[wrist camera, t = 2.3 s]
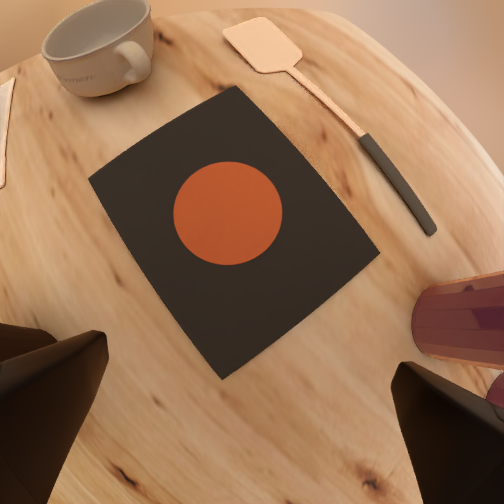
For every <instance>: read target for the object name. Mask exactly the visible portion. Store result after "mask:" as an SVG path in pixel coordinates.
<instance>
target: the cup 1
mask: <svg viewBox="0 0 504 504" xmlns="http://www.w3.org/2000/svg"><path fill="white" fill-rule="evenodd" d="M412 333H413V337H414V340H415V343H416V345H417V347H418V348H419V349H420V351H421V352H422V353H423V354H425V355H426V356H429V357H432V358H434V359H439V360H444V361H450V362H455V363H461V364H467V365H473V366H479V367H485V368H491V369H498V370H504V271H499V272H495V273H490V274H485V275H480V276H475V277H469V278H464V279H459V280H453V281H448V282H442V283H439V284H435V285H432V286H430V287H429V288H427V289H426V290H425V291H424V292H423V293H422V294H421V296H420V297H419V299H418V301H417V303H416V305H415V308H414V311H413V316H412Z"/></svg>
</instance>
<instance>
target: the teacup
mask: <svg viewBox="0 0 504 504" xmlns="http://www.w3.org/2000/svg"><path fill="white" fill-rule="evenodd" d="M150 11H151V7H150V4H149V2H148V1H147V0H98V1H95V2H93V3H91V4H88V5H86V6H84V7H82V8H79V9H77V10H75V11H74V12H73V13H71V14H69V15H68V16H66V17H65V18H64V19H62V20H61V21H60V22H59V23H58V24H56V25H55V26H54V28H53V29H52V30H51V31H50V32H49V33H48V35H47V36H46V38H45V40H44V42H43V44H42V49H41V51H42V55H43V57H44V58H45V59H46V60H47V61H48V63H49V65H50V67H51V68H52V70H53V72H54V73H55V75H56V77H57V78H58V80H59V81H60V83H61V84H62V85H63V86H64V88H65V89H67V90H68V91H69V92H71V93H72V94H75V95H78V96H82V97H96V96H101V95H107V94H110V93H113V92H116V91H118V90H120V89H122V88H124V87H125V86H127V85H128V84H134V83H138V82H141V81H143V80H145V79H146V78H147V77H148V76H149V75H150V74H151V70H152V67H151V62H150V60H151V58H152V55H153V51H154V37H153V29H152V22H151V16H150Z"/></svg>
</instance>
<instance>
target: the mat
mask: <svg viewBox="0 0 504 504" xmlns="http://www.w3.org/2000/svg"><path fill="white" fill-rule="evenodd" d="M88 180H89V181H90V183H91V185H92V187H93V189H94V191H95V193H96V194H97V196H98V198H99V200H100V202H101V203H102V205H103V207H104V209H105V210H106V212H107V214H108V216H109V217H110V219H111V221H112V223H113V224H114V226H115V228H116V229H117V231H118V233H119V234H120V236H121V238H122V239H123V241H124V243H125V244H126V246H127V247H128V249H129V251H130V252H131V254H132V255H133V257H134V259H135V260H136V262H137V263H138V265H139V266H140V268H141V270H142V271H143V273H144V274H145V276H146V277H147V279H148V280H149V282H150V283H151V285H152V286H153V288H154V289H155V291H156V292H157V294H158V295H159V297H160V298H161V299H162V301H163V302H164V304H165V305H166V307H167V308H168V310H169V311H170V312H171V314H172V315H173V317H174V318H175V319H176V321H177V322H178V324H179V325H180V326H181V328H182V329H183V330H184V332H185V333H186V334H187V336H188V337H189V339H190V340H191V341H192V343H193V344H194V345H195V346H196V348H197V349H198V350H199V352H200V353H201V354H202V356H203V357H204V358H205V359H206V361H207V362H208V363H209V365H210V366H211V367H212V368H213V370H214V371H215V372H216V373H217V375H218V376H219V377H220V378H221V380H223V379H224V378H226V377H227V376H229V375H230V374H231V373H233V372H234V371H236V370H237V369H238V368H240V367H241V366H243V365H244V364H245V363H247V362H248V361H249V360H251V359H252V358H254V357H255V356H256V355H258V354H259V353H260V352H262V351H263V350H264V349H266V348H267V347H268V346H270V345H271V344H272V343H274V342H275V341H276V340H277V339H279V338H280V337H281V336H283V335H284V334H285V333H287V332H288V331H289V330H290V329H292V328H293V327H294V326H295V325H297V324H298V323H299V322H300V321H302V320H303V319H304V318H305V317H307V316H308V315H309V314H310V313H312V312H313V311H314V310H315V309H316V308H318V307H319V306H320V305H321V304H323V303H324V302H325V301H326V300H327V299H328V298H330V297H331V296H332V295H333V294H334V293H336V292H337V291H338V290H339V289H340V288H341V287H343V286H344V285H345V284H346V283H347V282H348V281H350V280H351V279H352V278H353V277H354V276H355V275H356V274H358V273H359V272H360V271H361V270H362V269H363V268H364V267H365V266H367V265H368V264H369V263H370V262H371V261H372V260H373V259H374V258H375V257H376V256H378V255H379V254H380V252H379V250H378V249H377V248H376V246H375V245H374V243H373V242H372V241H371V239H370V238H369V237H368V235H367V234H366V233H365V231H364V230H363V229H362V227H361V226H360V225H359V223H358V222H357V221H356V220H355V218H354V217H353V216H352V214H351V213H350V212H349V211H348V209H347V208H346V207H345V205H344V204H343V203H342V202H341V200H340V199H339V198H338V197H337V196H336V194H335V193H334V192H333V191H332V189H331V188H330V187H329V186H328V185H327V183H326V182H325V181H324V180H323V179H322V177H321V176H320V175H319V174H318V173H317V171H316V170H315V169H314V168H313V167H312V166H311V164H310V163H309V162H308V161H307V160H306V159H305V158H304V156H303V155H302V154H301V153H300V152H299V151H298V150H297V148H296V147H295V146H294V145H293V144H292V143H291V142H290V141H289V140H288V139H287V137H286V136H285V135H284V134H283V133H282V132H281V131H280V130H279V129H278V128H277V127H276V126H275V124H274V123H273V122H272V121H271V120H270V119H269V118H268V117H267V116H266V115H265V114H264V113H263V112H262V111H261V110H260V109H259V108H258V107H257V106H256V105H255V104H254V103H253V102H252V101H251V100H250V99H249V98H248V97H247V96H246V95H245V94H244V93H243V92H242V91H241V90H240V89H239V88H238V87H237V86H236V85H235V86H233V87H231V88H229V89H227V90H225V91H223V92H221V93H219V94H218V95H216V96H214V97H212V98H210V99H208V100H206V101H205V102H203V103H201V104H199V105H197V106H196V107H194V108H192V109H190V110H189V111H187V112H185V113H183V114H182V115H180V116H178V117H177V118H175V119H173V120H172V121H170V122H168V123H167V124H165V125H164V126H162V127H160V128H159V129H157V130H156V131H154V132H153V133H151V134H150V135H148V136H146V137H145V138H143V139H142V140H140V141H139V142H137V143H136V144H134V145H133V146H132V147H130V148H129V149H127V150H126V151H124V152H123V153H122V154H120V155H119V156H117V157H116V158H115V159H113V160H112V161H110V162H109V163H108V164H106V165H105V166H104V167H102V168H101V169H100V170H98V171H97V172H96V173H94V174H93V175H92V176H91V177H89V178H88Z"/></svg>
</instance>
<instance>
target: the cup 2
mask: <svg viewBox="0 0 504 504" xmlns="http://www.w3.org/2000/svg"><path fill="white" fill-rule="evenodd" d="M486 400H487V401H489V402H491V403H492V404H495V405H497V406H499V407H501V408H503V409H504V373H502V374H501V375H500V376H499V377H498V378H497V379H496V380H495V381H494V383H493V384H492V386H491V388H490V390H489V392H488V394H487V397H486Z"/></svg>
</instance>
